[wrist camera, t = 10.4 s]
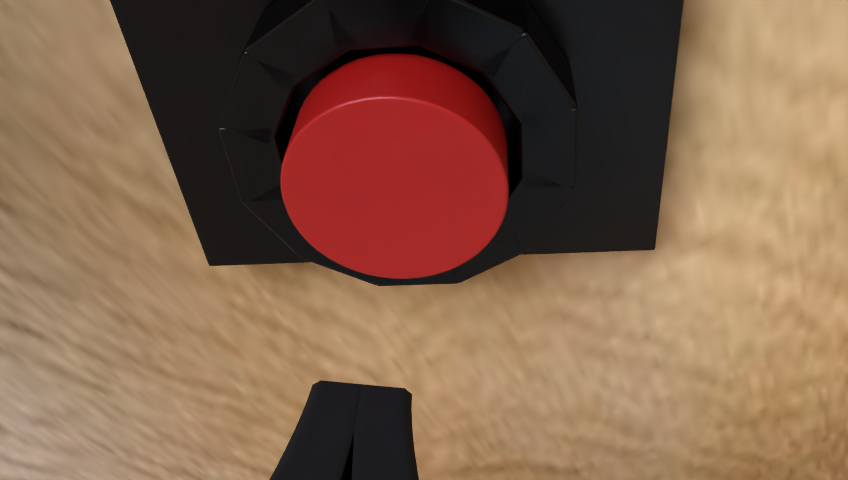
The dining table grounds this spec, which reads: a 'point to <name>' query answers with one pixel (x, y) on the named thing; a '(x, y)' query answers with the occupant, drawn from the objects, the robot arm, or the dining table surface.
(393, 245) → the light button
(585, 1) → the switch box
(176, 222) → the dining table surface
